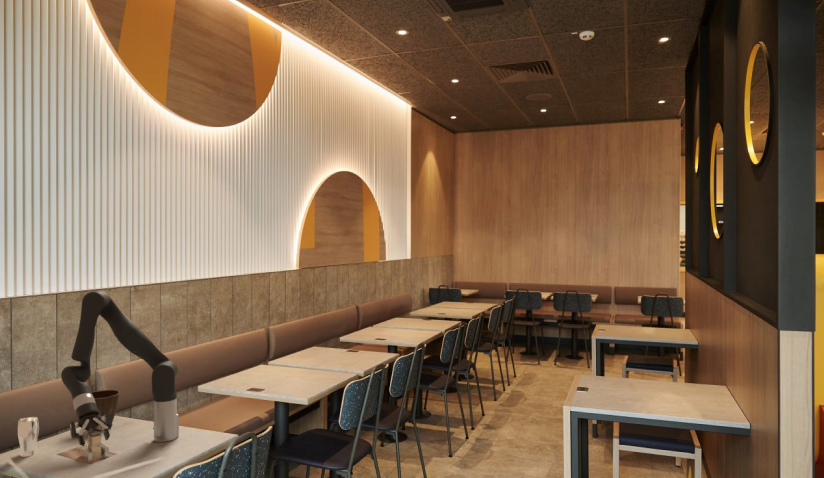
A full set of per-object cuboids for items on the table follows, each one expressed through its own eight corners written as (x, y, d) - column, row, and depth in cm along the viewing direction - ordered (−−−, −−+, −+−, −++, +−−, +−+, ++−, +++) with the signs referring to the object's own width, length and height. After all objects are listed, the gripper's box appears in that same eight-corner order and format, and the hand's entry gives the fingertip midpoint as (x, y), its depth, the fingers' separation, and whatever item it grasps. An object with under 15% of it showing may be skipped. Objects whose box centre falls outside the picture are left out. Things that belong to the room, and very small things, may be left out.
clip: (80, 456, 218) (80, 447, 218) (100, 450, 223) (100, 442, 223) (88, 462, 212) (88, 453, 212) (108, 456, 217) (108, 448, 217)
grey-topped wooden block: (88, 455, 218) (87, 432, 218) (96, 452, 220) (96, 430, 220) (92, 458, 215) (92, 435, 215) (100, 456, 217) (100, 433, 217)
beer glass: (28, 460, 217) (27, 422, 217) (13, 459, 218) (13, 421, 218) (43, 453, 224) (43, 417, 224) (28, 452, 225) (28, 416, 225)
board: (83, 447, 230) (83, 445, 230) (117, 456, 220) (117, 453, 220) (56, 457, 220) (56, 454, 220) (90, 467, 210) (90, 464, 210)
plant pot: (98, 422, 262) (98, 389, 262) (127, 423, 260) (126, 390, 260) (74, 433, 247) (74, 398, 247) (105, 435, 245) (104, 399, 245)
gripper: (67, 406, 217) (77, 441, 210) (106, 398, 228) (117, 432, 220) (63, 416, 221) (73, 452, 213) (102, 408, 231) (112, 442, 224)
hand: (95, 442), depth 217 cm, fingers open, 8 cm apart
